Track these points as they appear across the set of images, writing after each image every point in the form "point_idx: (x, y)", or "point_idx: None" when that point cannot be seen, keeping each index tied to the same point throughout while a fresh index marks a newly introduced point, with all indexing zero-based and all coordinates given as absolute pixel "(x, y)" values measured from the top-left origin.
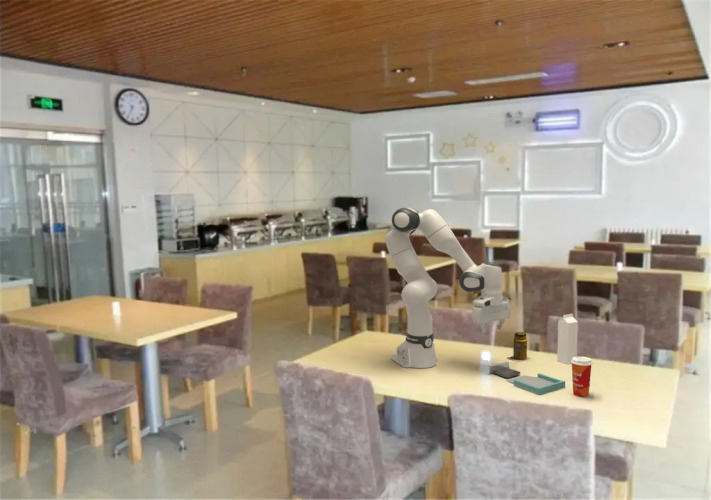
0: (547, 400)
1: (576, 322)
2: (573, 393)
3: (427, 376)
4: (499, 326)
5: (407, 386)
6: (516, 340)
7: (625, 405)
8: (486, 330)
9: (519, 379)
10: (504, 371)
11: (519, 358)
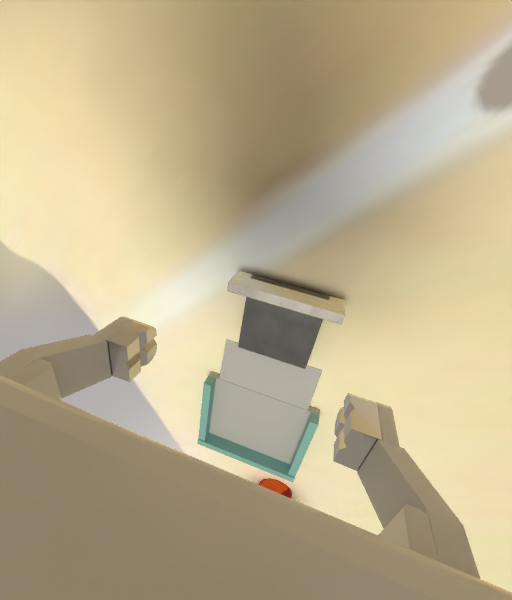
0: (192, 444)
1: None
2: (263, 481)
3: (34, 84)
4: (338, 443)
5: None
6: None
7: None
8: (136, 367)
9: (260, 373)
10: (270, 324)
11: None
